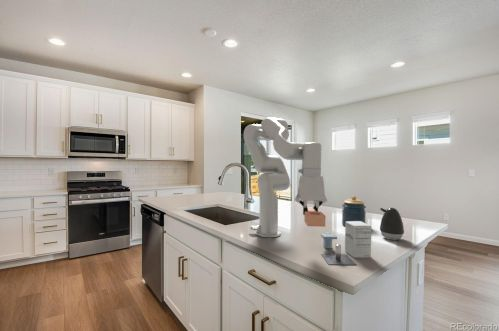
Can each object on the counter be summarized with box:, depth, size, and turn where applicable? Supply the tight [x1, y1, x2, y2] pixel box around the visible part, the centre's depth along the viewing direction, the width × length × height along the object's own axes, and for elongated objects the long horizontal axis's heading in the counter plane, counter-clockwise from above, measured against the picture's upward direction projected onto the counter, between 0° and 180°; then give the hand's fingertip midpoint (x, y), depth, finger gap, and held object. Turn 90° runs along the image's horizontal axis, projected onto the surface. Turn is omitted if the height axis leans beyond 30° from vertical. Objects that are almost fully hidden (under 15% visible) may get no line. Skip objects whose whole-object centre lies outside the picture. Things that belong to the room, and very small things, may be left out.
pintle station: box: [320, 243, 357, 266], centre depth 93 cm, size 10×10×6 cm
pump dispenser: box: [379, 207, 405, 241], centre depth 120 cm, size 10×10×15 cm
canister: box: [341, 195, 367, 227], centre depth 144 cm, size 13×13×18 cm
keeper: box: [320, 232, 338, 249], centre depth 105 cm, size 6×6×6 cm
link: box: [303, 206, 327, 227], centre depth 98 cm, size 14×6×4 cm, turn 179°
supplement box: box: [344, 221, 372, 258], centre depth 99 cm, size 7×7×13 cm
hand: (310, 216), depth 101 cm, fingers closed on link, 3 cm apart
